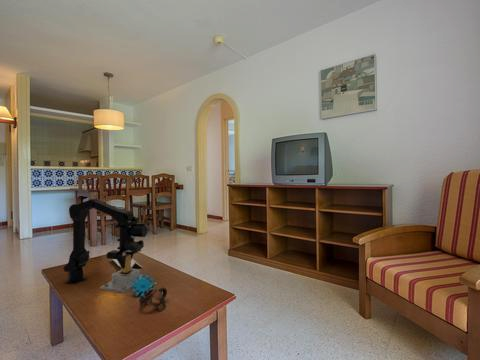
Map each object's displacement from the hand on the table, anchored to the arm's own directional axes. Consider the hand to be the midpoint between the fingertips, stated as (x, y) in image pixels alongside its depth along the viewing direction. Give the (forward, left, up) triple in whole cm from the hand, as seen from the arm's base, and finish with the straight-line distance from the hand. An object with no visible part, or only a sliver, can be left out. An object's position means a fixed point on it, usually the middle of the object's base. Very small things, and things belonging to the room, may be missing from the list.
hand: (125, 267), depth 121 cm
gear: (+16, -6, -8) cm, 19 cm away
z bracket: (-19, +21, -8) cm, 29 cm away
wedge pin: (0, 0, -2) cm, 2 cm away
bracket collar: (0, 0, -8) cm, 8 cm away
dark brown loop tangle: (+28, -15, -8) cm, 33 cm away
